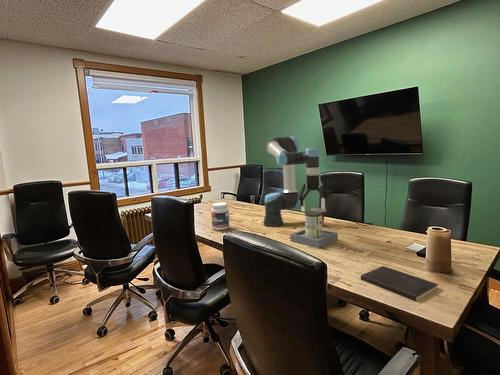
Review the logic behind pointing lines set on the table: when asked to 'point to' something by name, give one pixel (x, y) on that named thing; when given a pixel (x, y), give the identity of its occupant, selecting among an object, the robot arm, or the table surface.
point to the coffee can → (313, 224)
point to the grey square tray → (314, 242)
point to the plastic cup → (320, 211)
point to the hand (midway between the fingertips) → (313, 210)
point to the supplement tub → (220, 216)
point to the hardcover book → (399, 282)
